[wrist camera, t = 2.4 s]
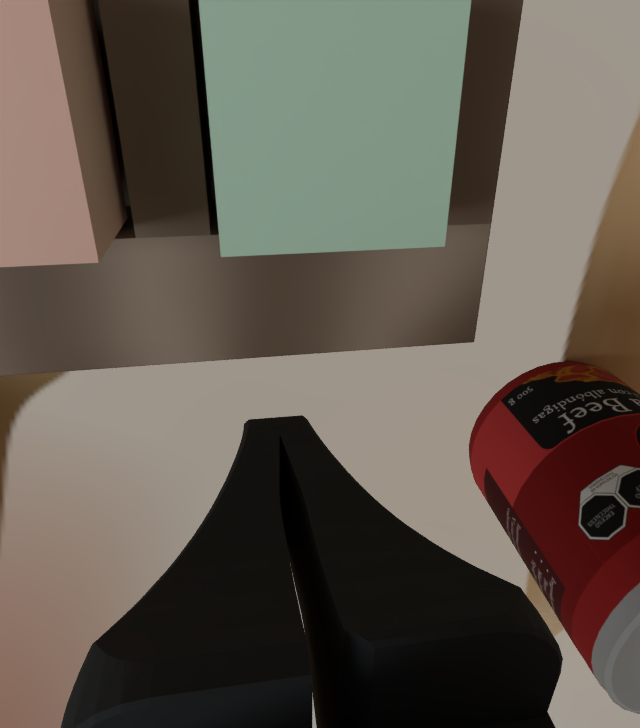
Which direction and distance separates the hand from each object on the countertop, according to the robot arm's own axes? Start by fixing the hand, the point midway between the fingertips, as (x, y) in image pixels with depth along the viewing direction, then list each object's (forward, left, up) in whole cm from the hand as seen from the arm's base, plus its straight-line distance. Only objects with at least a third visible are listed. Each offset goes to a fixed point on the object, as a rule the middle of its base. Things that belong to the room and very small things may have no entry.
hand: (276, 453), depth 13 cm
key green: (+2, +7, -6) cm, 9 cm away
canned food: (+13, -7, -10) cm, 18 cm away
